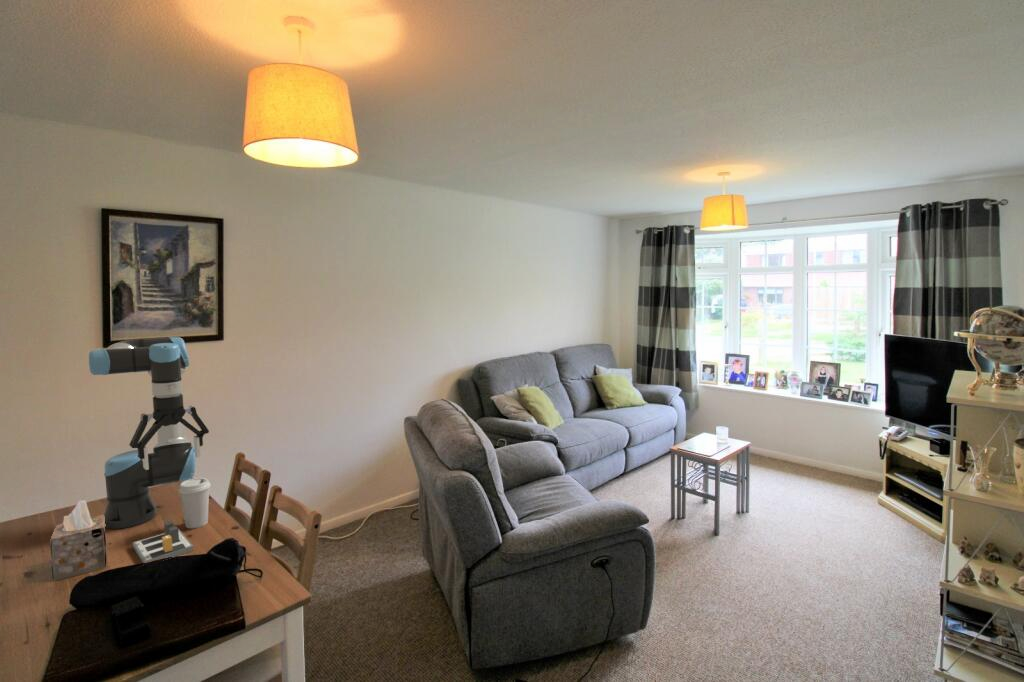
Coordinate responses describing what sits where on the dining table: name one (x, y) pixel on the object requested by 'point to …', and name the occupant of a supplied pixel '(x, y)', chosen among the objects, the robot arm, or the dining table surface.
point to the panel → (153, 545)
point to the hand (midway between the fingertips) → (172, 462)
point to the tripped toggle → (167, 543)
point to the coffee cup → (195, 501)
